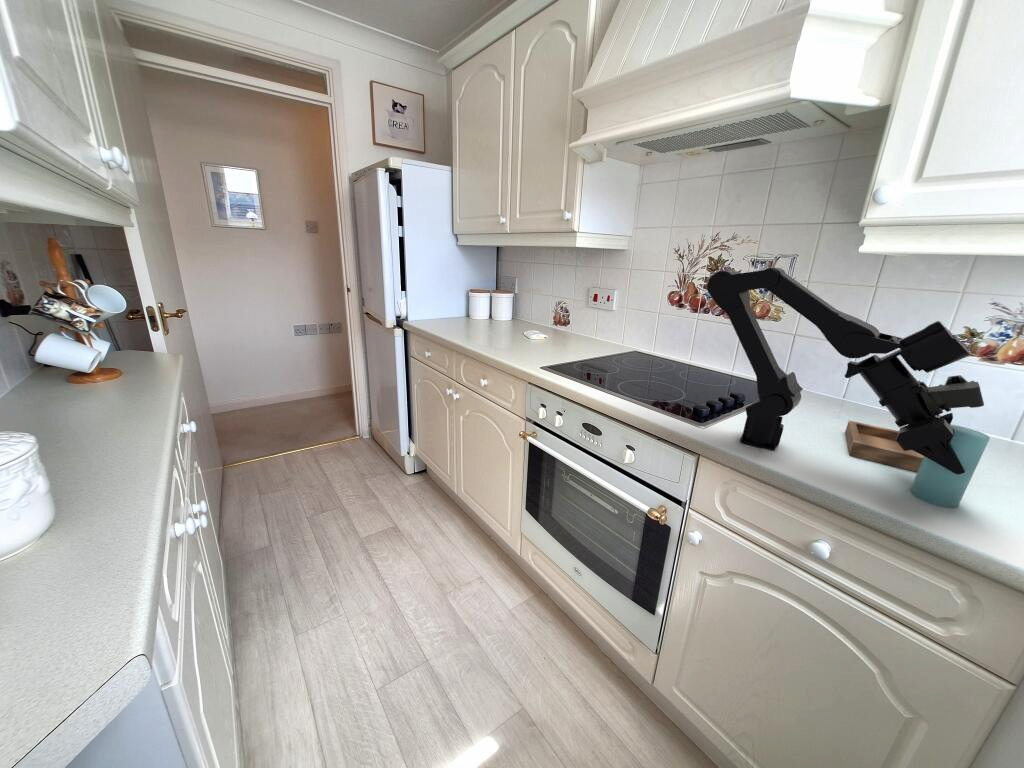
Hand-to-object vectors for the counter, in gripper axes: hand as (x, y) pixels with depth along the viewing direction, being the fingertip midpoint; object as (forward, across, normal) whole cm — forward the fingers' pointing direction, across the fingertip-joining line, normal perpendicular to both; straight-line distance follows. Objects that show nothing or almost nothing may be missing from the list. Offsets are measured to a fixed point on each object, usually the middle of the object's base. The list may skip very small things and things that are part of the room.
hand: (960, 466), depth 67 cm
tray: (0, +16, +10) cm, 19 cm away
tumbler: (+4, 0, +6) cm, 7 cm away
